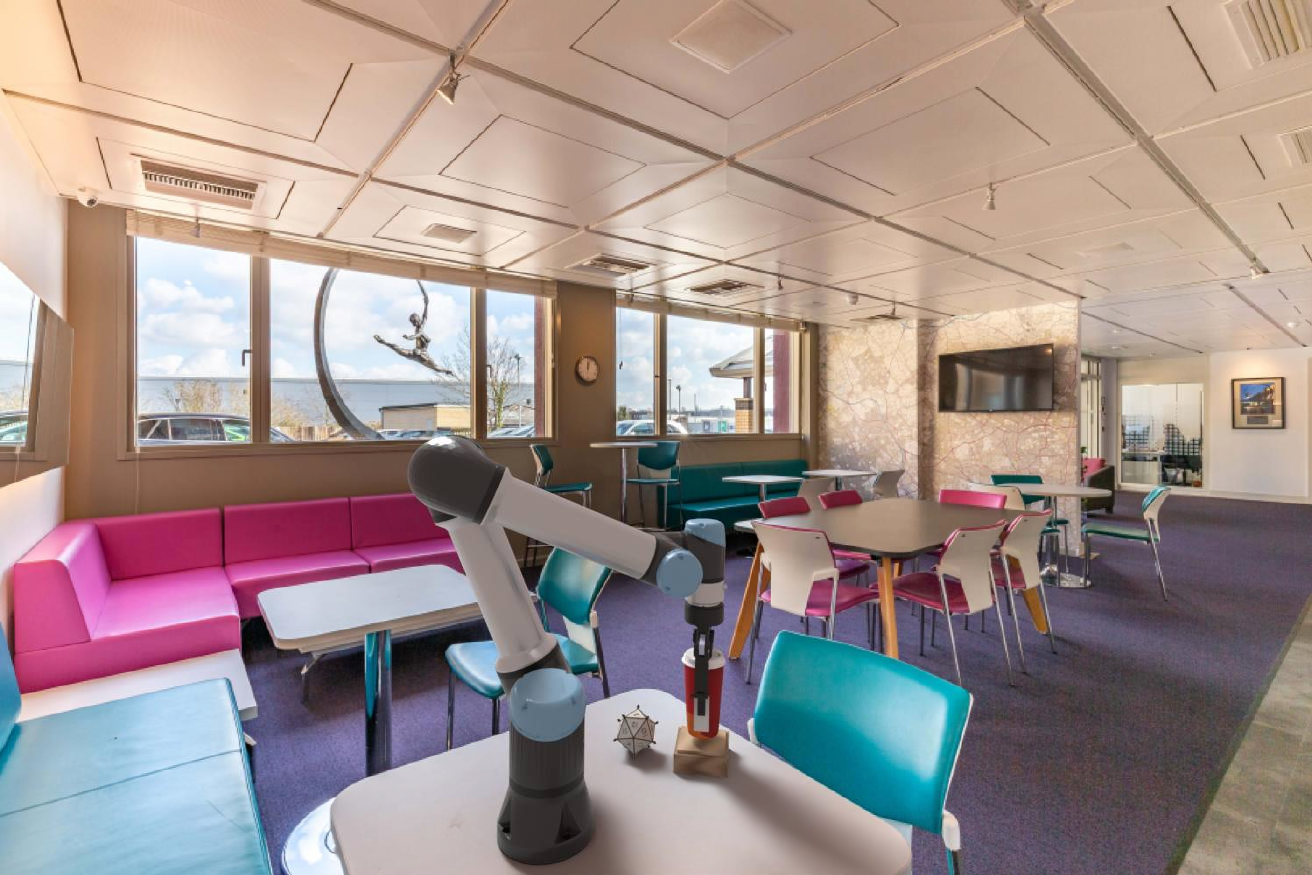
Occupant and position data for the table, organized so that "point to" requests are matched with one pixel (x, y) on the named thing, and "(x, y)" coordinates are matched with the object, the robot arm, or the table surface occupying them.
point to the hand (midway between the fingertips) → (702, 719)
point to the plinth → (701, 754)
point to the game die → (636, 731)
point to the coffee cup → (714, 691)
